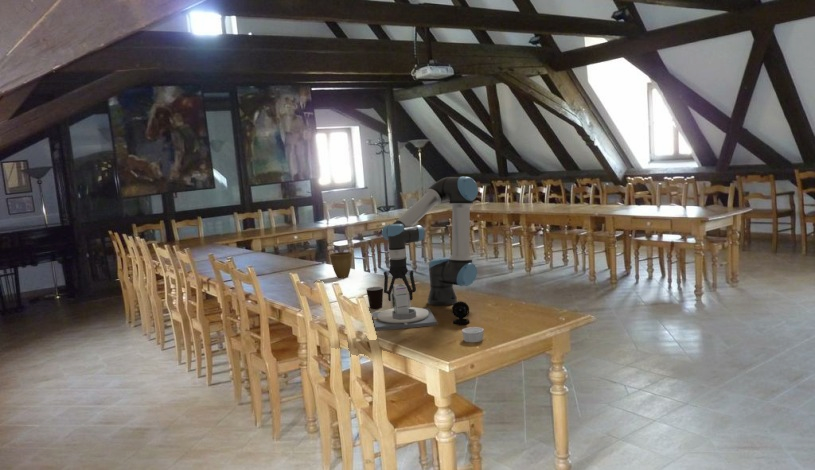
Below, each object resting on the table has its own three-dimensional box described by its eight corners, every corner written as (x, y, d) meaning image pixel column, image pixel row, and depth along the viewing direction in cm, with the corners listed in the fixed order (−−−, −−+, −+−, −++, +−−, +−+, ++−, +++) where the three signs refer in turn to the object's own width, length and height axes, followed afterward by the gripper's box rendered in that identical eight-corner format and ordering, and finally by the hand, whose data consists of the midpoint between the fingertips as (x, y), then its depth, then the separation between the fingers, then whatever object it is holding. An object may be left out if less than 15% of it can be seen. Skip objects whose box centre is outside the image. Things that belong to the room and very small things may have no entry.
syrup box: (409, 316, 288) (407, 285, 286) (397, 318, 286) (394, 287, 284) (406, 314, 293) (404, 283, 291) (393, 315, 292) (391, 284, 290)
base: (429, 310, 312) (428, 306, 311) (437, 325, 284) (437, 321, 284) (372, 315, 309) (372, 311, 309) (375, 330, 281) (374, 326, 281)
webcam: (452, 325, 282) (450, 303, 280) (453, 321, 289) (452, 299, 288) (469, 325, 281) (468, 303, 279) (470, 320, 288) (469, 299, 287)
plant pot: (357, 277, 415) (356, 253, 413) (337, 280, 407) (335, 256, 405) (348, 274, 428) (346, 250, 426) (328, 277, 420) (326, 253, 418)
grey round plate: (425, 308, 309) (424, 300, 309) (431, 320, 285) (431, 311, 285) (376, 312, 307) (376, 304, 307) (379, 325, 283) (378, 316, 283)
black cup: (382, 309, 321) (380, 290, 319) (365, 309, 322) (364, 290, 321) (387, 303, 332) (386, 285, 331) (371, 304, 334) (370, 285, 332)
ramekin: (472, 344, 252) (471, 334, 251) (458, 340, 259) (457, 330, 259) (488, 339, 257) (488, 329, 257) (474, 335, 264) (473, 325, 264)
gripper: (374, 260, 284) (378, 310, 287) (418, 258, 281) (421, 308, 284) (377, 257, 292) (381, 306, 294) (420, 255, 289) (423, 304, 291)
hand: (401, 307), depth 289 cm, fingers closed on syrup box, 7 cm apart
